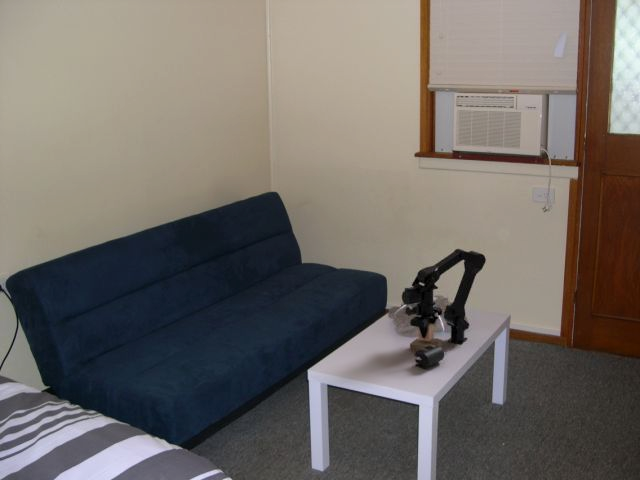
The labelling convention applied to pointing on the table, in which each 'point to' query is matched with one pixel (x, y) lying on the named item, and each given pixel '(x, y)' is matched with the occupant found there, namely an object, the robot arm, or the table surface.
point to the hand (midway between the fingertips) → (426, 336)
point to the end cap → (429, 356)
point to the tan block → (424, 344)
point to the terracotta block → (428, 333)
